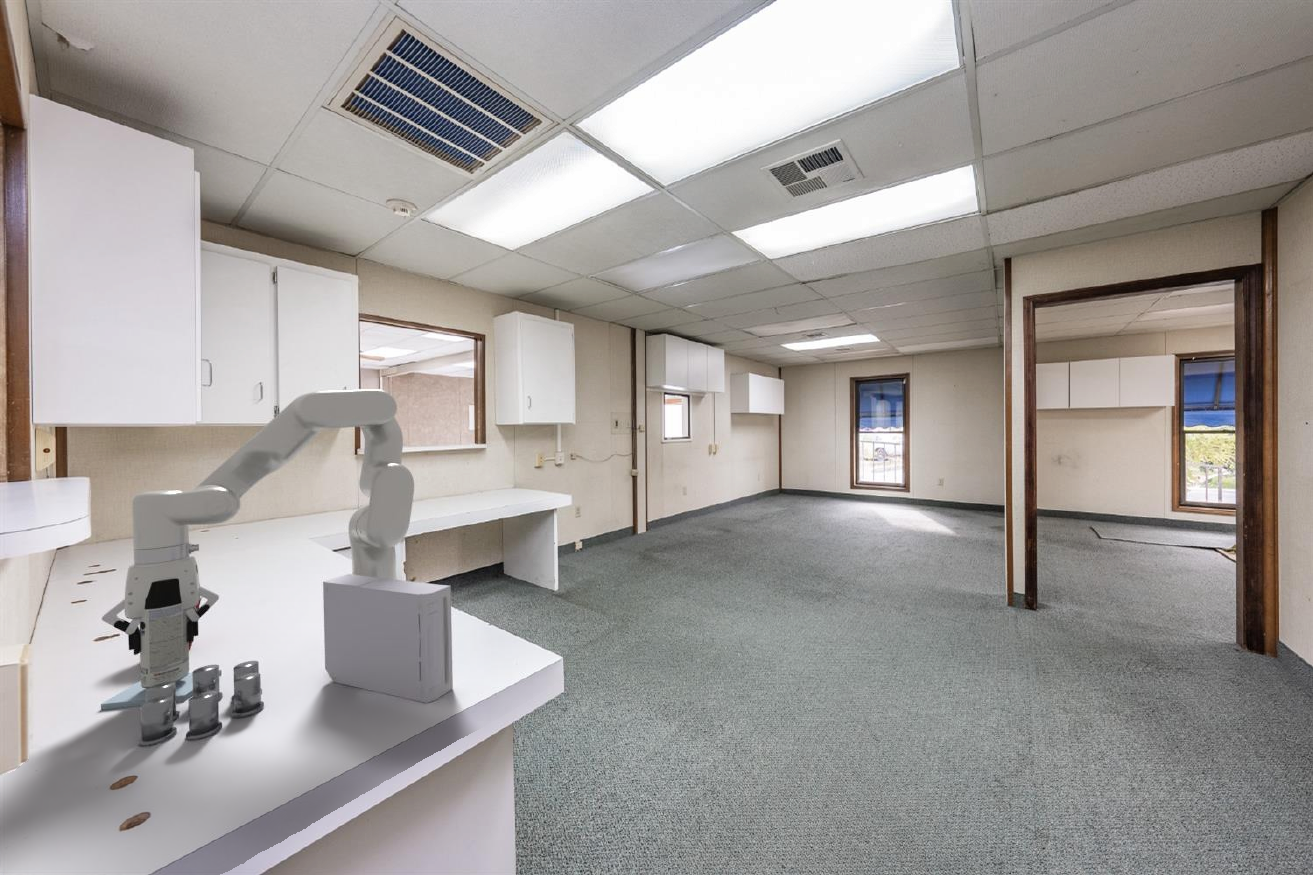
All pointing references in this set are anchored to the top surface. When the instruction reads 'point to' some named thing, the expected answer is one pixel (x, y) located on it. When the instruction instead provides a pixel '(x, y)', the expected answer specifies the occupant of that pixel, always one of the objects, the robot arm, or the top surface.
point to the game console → (389, 636)
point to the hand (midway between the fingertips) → (165, 645)
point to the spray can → (163, 635)
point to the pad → (138, 694)
